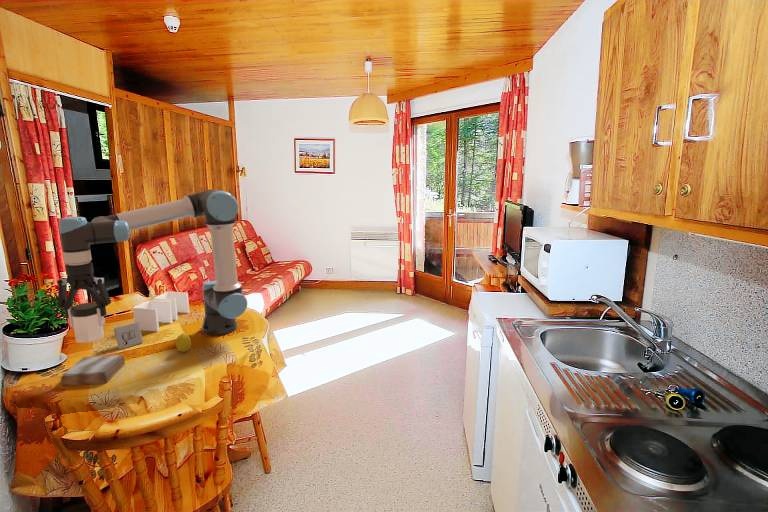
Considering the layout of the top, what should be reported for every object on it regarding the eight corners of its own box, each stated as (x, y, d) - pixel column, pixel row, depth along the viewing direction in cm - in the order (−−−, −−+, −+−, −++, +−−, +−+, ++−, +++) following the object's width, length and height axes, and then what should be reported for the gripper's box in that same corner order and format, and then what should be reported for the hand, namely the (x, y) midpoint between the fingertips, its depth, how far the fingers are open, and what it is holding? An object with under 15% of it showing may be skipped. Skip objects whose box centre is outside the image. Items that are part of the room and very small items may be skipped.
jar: (97, 331, 151) (92, 300, 148) (110, 335, 147) (105, 304, 144) (70, 340, 143) (64, 307, 140) (82, 345, 139) (77, 311, 137)
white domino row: (169, 311, 212) (167, 291, 210) (189, 312, 211) (187, 292, 209) (135, 330, 188) (132, 307, 186) (157, 331, 187) (155, 309, 184)
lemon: (174, 351, 167) (172, 333, 165) (188, 347, 171) (187, 329, 169) (179, 356, 163) (177, 337, 161) (193, 352, 167) (192, 333, 165)
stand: (124, 364, 156) (123, 354, 155) (107, 382, 142) (105, 372, 142) (84, 366, 154) (82, 356, 153) (62, 385, 140) (60, 375, 139)
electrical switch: (119, 350, 167) (115, 328, 166) (114, 348, 170) (110, 326, 169) (143, 343, 174) (140, 322, 173) (138, 341, 178) (135, 320, 176)
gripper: (117, 259, 144) (125, 319, 149) (50, 260, 141) (60, 322, 146) (107, 264, 137) (115, 327, 142) (36, 266, 134) (47, 330, 139)
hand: (88, 325), depth 144 cm, fingers closed on jar, 8 cm apart
